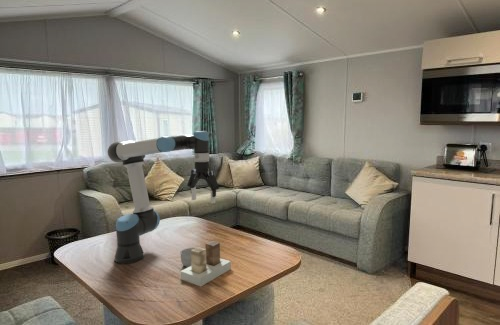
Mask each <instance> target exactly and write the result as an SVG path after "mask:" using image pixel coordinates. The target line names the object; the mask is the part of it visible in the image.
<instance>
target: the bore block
mask: <svg viewBox="0 0 500 325" xmlns="http://www.w3.org/2000/svg"><path fill="white" fill-rule="evenodd" d="M206 265H207V270H206V271H204V272H202V273H201V274H198V273H195V272H192V267H191V266H190V267H185V268H184V269H182V270H180V272H179V273H180V280H181V281H184V282H187V283H189V284H192V285H196V286H198V287H203V286H204V285H206V284H207V283H210V282H211V281H213V280H215V279H216V278H218V277H219V276H222V275H224V274H225V273H227V272H228V271H230V270H232V261H231V260H228V259H224V258H221V257H220V263H219V264H217V265H215V266H211V265H208V264H206Z"/></svg>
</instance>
